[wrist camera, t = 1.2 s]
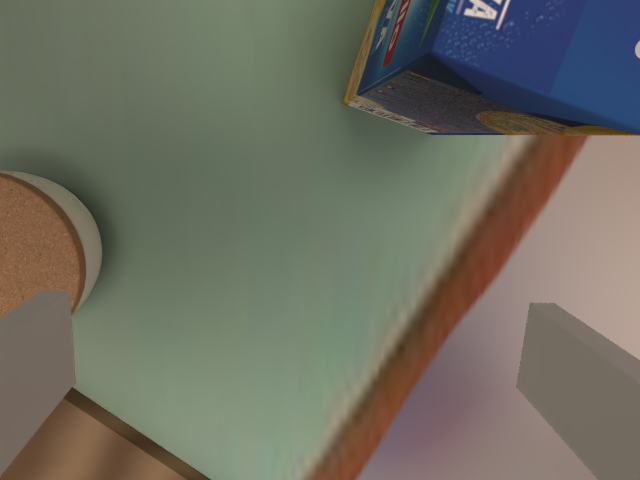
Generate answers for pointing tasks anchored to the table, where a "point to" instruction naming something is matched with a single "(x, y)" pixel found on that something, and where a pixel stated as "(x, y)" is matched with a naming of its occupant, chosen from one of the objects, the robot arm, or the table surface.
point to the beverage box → (501, 66)
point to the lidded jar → (44, 241)
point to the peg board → (93, 449)
